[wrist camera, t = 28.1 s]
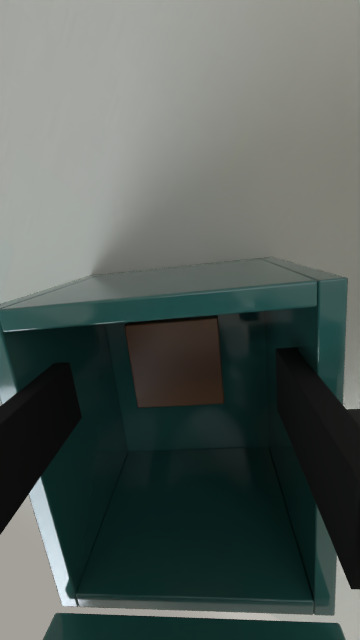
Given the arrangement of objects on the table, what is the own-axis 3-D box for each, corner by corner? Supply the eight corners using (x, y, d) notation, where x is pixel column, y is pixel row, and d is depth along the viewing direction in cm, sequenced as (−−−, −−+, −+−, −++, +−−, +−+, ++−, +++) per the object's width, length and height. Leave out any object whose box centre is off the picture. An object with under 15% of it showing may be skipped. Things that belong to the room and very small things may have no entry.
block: (143, 304, 18) (123, 325, 14) (215, 298, 18) (217, 317, 13) (152, 370, 19) (137, 408, 15) (220, 366, 19) (224, 404, 15)
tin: (89, 275, 19) (-28, 312, 10) (273, 256, 18) (348, 277, 8) (122, 452, 22) (61, 607, 13) (278, 447, 21) (334, 616, 12)
